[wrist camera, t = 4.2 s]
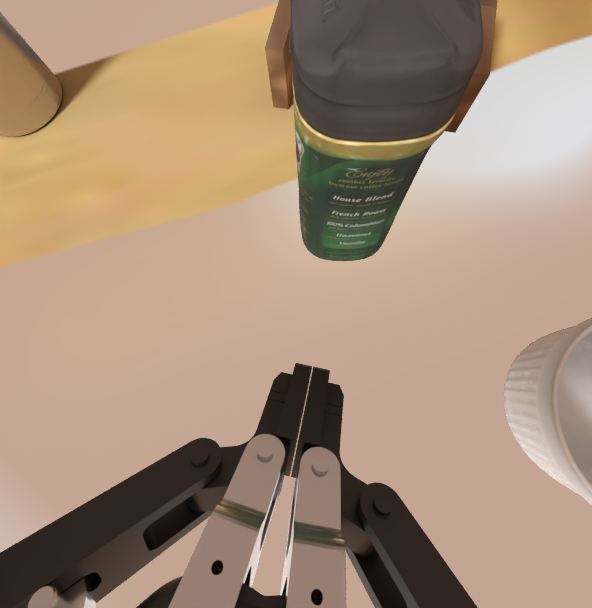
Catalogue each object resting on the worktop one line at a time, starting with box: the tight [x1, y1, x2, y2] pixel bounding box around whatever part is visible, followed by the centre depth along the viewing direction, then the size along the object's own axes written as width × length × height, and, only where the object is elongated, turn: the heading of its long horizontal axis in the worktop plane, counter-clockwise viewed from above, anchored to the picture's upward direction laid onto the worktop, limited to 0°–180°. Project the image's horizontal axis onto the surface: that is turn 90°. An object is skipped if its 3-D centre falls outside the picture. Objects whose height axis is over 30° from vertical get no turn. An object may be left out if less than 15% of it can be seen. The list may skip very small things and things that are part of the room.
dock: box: [265, 0, 497, 132], centre depth 29 cm, size 19×9×6 cm, turn 78°
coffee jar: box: [289, 0, 484, 261], centre depth 20 cm, size 10×8×19 cm
